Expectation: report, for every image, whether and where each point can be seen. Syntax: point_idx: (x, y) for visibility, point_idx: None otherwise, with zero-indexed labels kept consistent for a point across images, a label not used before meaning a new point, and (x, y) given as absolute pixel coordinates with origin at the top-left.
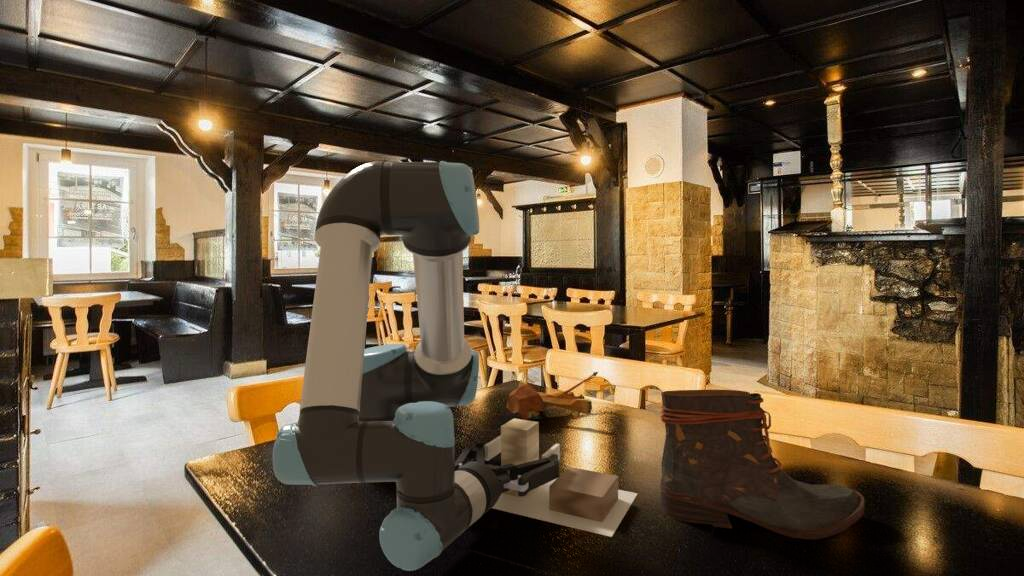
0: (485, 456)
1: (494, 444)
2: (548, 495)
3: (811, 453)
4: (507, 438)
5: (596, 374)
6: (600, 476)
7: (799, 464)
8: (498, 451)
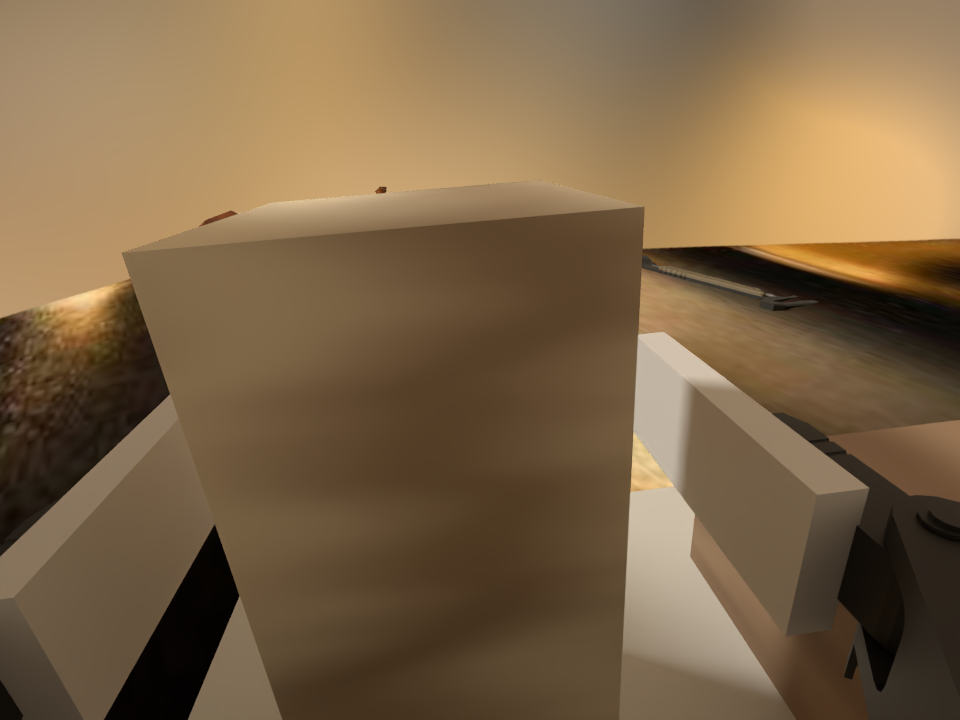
0: (32, 711)
1: (128, 507)
2: (684, 693)
3: (868, 246)
4: (305, 423)
5: (385, 191)
6: (956, 455)
7: (909, 262)
8: (196, 530)
